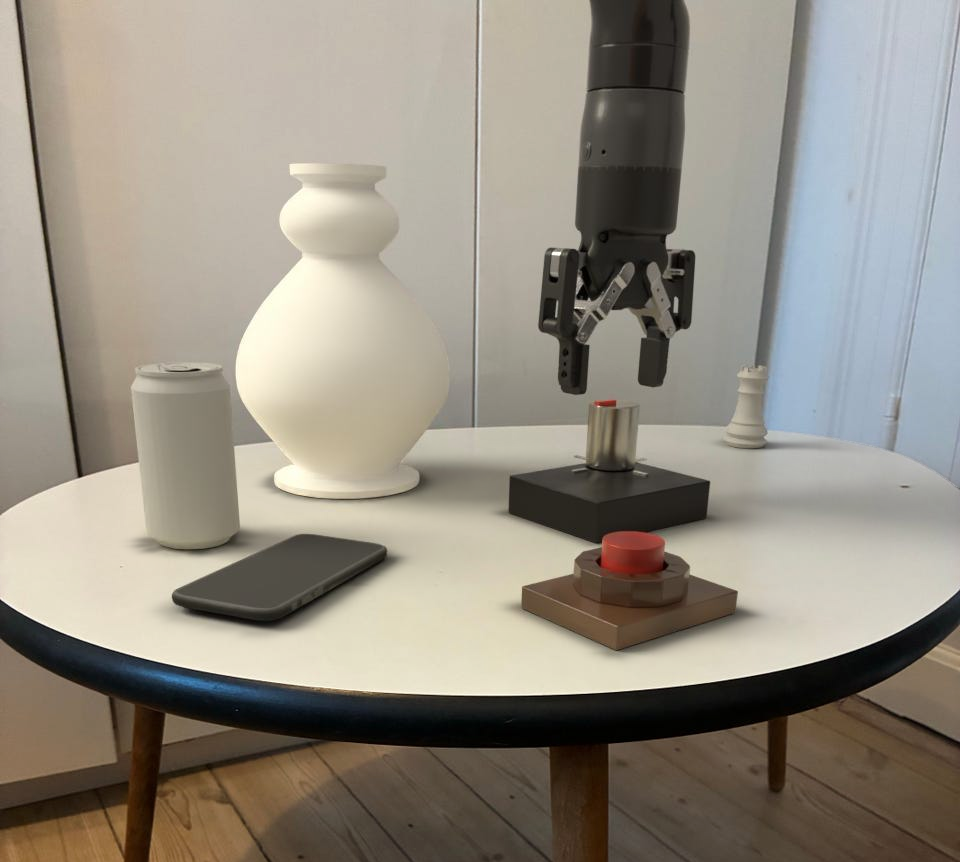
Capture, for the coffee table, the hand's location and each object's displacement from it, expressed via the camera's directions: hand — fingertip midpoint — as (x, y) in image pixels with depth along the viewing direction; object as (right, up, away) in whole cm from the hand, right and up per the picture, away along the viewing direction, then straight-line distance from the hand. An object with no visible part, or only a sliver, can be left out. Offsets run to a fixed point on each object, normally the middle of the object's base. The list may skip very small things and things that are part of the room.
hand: (612, 389), depth 81 cm
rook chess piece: (+17, +1, +27) cm, 32 cm away
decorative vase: (-22, -6, +9) cm, 24 cm away
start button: (-2, -16, -21) cm, 26 cm away
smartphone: (-23, -16, -16) cm, 32 cm away
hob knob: (0, -6, +2) cm, 6 cm away
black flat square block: (-1, -10, +1) cm, 10 cm away
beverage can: (-31, -13, -8) cm, 34 cm away
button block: (-2, -18, -20) cm, 27 cm away
